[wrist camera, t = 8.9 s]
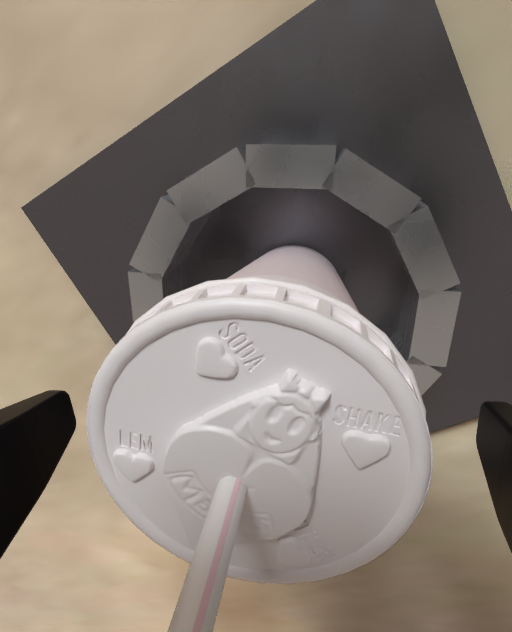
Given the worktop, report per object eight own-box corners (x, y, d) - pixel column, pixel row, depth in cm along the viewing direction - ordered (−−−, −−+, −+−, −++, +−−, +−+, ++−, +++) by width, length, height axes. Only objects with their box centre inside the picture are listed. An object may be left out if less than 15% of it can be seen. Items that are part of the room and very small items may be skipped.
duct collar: (407, -58, 12) (429, -116, 10) (569, 379, 16) (616, 426, 14) (29, 206, 17) (-27, 217, 15) (224, 490, 21) (208, 541, 19)
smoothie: (186, 314, 18) (-207, 773, 5) (262, 173, 15) (-150, 337, 2) (318, 391, 18) (286, 1016, 5) (415, 266, 15) (844, 889, 2)
